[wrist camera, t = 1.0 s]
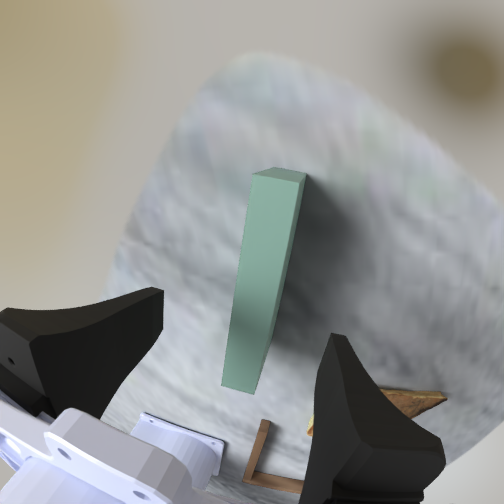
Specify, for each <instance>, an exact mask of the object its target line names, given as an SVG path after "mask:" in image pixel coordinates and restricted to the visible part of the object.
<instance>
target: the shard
mask: <svg viewBox="0 0 504 504" xmlns="http://www.w3.org/2000/svg"><path fill="white" fill-rule="evenodd" d="M379 389H380V388H379ZM380 390H381V391H382V392H383V394H384V395H385V396H386V397H387V398H388V399H389V400H390V401H391V402H392V403H393V404H394V405H395V406H396V407H397V408H398V409H399V410H400V411H401V412H403V413H404V414H405V415H406V416H407V417H409V418H410V419H412V418H414V417H416V416H418V415H420V414H421V413H423V412H425V411H426V410H429V409H431V408H433V407H435V406H437V405H439V404H440V403H442V402H444V401H446V400H448V398H446V397H444V396H443V395H441V392H432V391H402V390H398V391H397V390H385V389H380ZM313 419H314V414H313V416H312V418H311V419H310V422H309V426H308V429H307V435H308V436H312V437H313Z"/></svg>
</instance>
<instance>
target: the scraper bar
mask: <svg viewBox="0 0 504 504" xmlns="http://www.w3.org/2000/svg"><path fill="white" fill-rule="evenodd" d="M306 174H307V173H302V172H297V171H292V170H287V169H282V168H276V167H273V168H270V169H267V170H264V171H261V172H258V173H255V174H253V176H252V182H251V188H250V195H249V201H248V208H247V214H246V220H245V227H244V233H243V240H242V246H241V253H240V260H239V266H238V273H237V280H236V286H235V293H234V300H233V306H232V313H231V320H230V327H229V334H228V341H227V348H226V355H225V362H224V369H223V376H222V383H221V386H224V387H228V388H231V389H235V390H238V391H242V392H246V393H249V394H253V395H254V393H255V390H256V387H257V384H258V381H259V378H260V375H261V372H262V369H263V365H264V362H265V359H266V356H267V353H268V349H269V346H270V343H271V340H272V335H273V331H274V327H275V323H276V318H277V314H278V309H279V305H280V301H281V296H282V292H283V287H284V283H285V278H286V273H287V269H288V264H289V259H290V255H291V250H292V245H293V240H294V236H295V231H296V226H297V221H298V216H299V211H300V206H301V200H302V195H303V190H304V185H305V179H306Z"/></svg>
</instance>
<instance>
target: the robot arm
mask: <svg viewBox="0 0 504 504" xmlns="http://www.w3.org/2000/svg"><path fill="white" fill-rule="evenodd" d="M163 308H164V290H161V289H158V288H154V287H149V288H145V289H141V290H138V291H135V292H132V293H129V294H126V295H123V296H120V297H117V298H113V299H110V300H106V301H103V302H99V303H96V304H92V305H87V306H82V307H76V308H70V309H58V310H25V309H14V308H6V309H4V310H2V311H1V312H0V457H1V458H2V459H3V460H4V461H5V462H6V463H7V464H8V465H9V466H10V467H12V468H13V469H14V470H15V471H16V473H15V474H14V476H13V477H12V478H11V479H10V480H9V481H8V482H7V484H6V485H5V486H4V487H3V488H2V490H1V491H0V504H252V503H248V502H244V501H240V500H236V499H232V498H228V497H225V496H221V495H218V494H214V493H211V492H208V491H205V489H206V487H207V485H208V482H209V480H210V477H211V475H214V476H218V474H219V470H220V465H221V459H222V454H223V449H224V442H223V441H221V440H218V439H215V438H211V437H208V436H205V435H202V434H199V433H196V432H193V431H190V430H187V429H184V428H182V427H179V426H176V425H173V424H171V423H168V422H165V421H163V420H160V419H158V418H155V417H153V416H150V415H148V414H145V413H141V414H140V420H139V421H138V423H137V424H136V426H135V427H134V429H133V430H132V432H131V433H130V435H129V434H127V433H125V432H123V431H121V430H119V429H117V428H115V427H112V426H110V425H108V424H107V423H105V422H103V421H101V420H100V418H101V417H102V415H103V413H104V411H105V409H106V408H107V406H108V404H109V403H110V401H111V399H112V398H113V396H114V394H115V393H116V391H117V390H118V388H119V387H120V385H121V384H122V382H123V381H124V380H125V378H126V377H127V376H128V375H129V374H130V372H131V371H132V370H133V369H134V368H135V367H136V365H137V364H138V363H139V362H140V361H141V360H142V358H143V357H144V356H145V355H146V354H147V352H148V351H149V350H150V349H151V348H152V346H153V345H154V343H155V342H156V340H157V339H158V337H159V335H160V334H161V332H162V330H163ZM445 465H446V458H445V454H444V449H443V445H442V442H441V439H440V438H439V437H437V436H435V435H434V434H432V433H430V432H429V431H427V430H425V429H424V428H422V427H421V426H419V425H418V424H417V423H415V422H414V421H412V420H411V419H410V418H409V417H407V416H406V415H405V414H404V413H403V412H401V411H400V410H399V409H398V408H397V407H396V406H395V405H394V404H393V403H392V402H391V401H390V400H389V399H388V398H387V397H386V396H385V395H384V394H383V392H382V391H381V390H380V389H379V388H378V387H377V385H376V384H375V383H374V381H373V380H372V379H371V377H370V376H369V374H368V373H367V372H366V370H365V369H364V367H363V365H362V364H361V362H360V361H359V359H358V357H357V355H356V354H355V352H354V350H353V348H352V346H351V345H350V343H349V341H348V339H347V337H346V336H344V335H339V334H334V333H331V335H330V338H329V341H328V344H327V347H326V349H325V352H324V355H323V358H322V360H321V363H320V366H319V369H318V372H317V378H316V385H315V392H314V419H313V437H312V445H311V450H310V456H309V461H308V466H307V471H306V475H305V480H304V484H303V488H302V492H301V496H300V500H299V503H298V504H420V502H421V501H423V499H424V492H423V490H424V489H425V488H426V487H427V486H428V485H429V484H431V483H432V482H433V481H434V480H435V479H436V478H437V477H438V476H439V474H440V473H441V472H442V471H443V470H444V468H445Z"/></svg>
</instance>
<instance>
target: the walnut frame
mask: <svg viewBox="0 0 504 504" xmlns="http://www.w3.org/2000/svg"><path fill="white" fill-rule="evenodd" d="M269 425H270V421H267V420H263V419H262V420H261V424H260V427H259V430H258V433H257V437H256V440H255V443H254V446H253V449H252V453H251V456H250V459H249V462H248V465H247V468H246V471H245V474H244V477H243V480H242V482H245V483H249V484H253V485H257V486H262V487H266V488H271V489H276V490H281V491H287V492H292V493H298V494H301V492H302V488H303V484H304V481H301V480H295V479H290V478H284V477H279V476H274V475H270V474H265V473H261V472H256V471H254V469H255V466H256V464H257V461H258V458H259V455H260V453H261V450H262V447H263V444H264V441H265V439H266V436H267V433H268V429H269Z"/></svg>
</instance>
